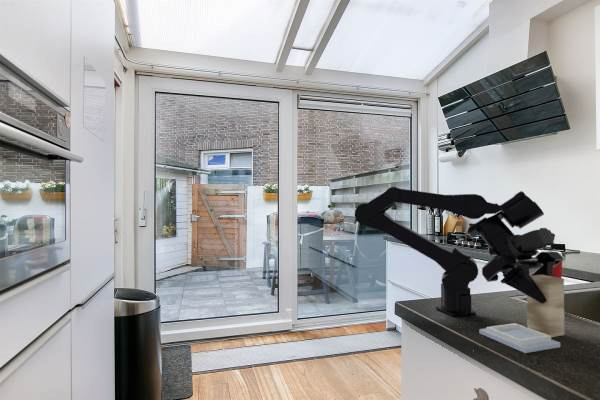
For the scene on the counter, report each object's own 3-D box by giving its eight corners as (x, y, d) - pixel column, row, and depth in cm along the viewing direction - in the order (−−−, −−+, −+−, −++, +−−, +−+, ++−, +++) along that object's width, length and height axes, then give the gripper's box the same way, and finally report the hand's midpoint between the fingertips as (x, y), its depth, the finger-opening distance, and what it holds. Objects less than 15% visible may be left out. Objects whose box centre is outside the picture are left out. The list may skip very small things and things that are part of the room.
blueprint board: (479, 333, 70) (479, 325, 70) (511, 328, 73) (511, 320, 73) (525, 353, 61) (524, 343, 61) (560, 347, 63) (560, 338, 63)
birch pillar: (527, 330, 72) (526, 276, 72) (541, 327, 73) (541, 274, 73) (549, 337, 68) (549, 280, 68) (564, 334, 69) (563, 278, 69)
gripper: (493, 215, 71) (551, 281, 60) (553, 214, 78) (614, 273, 68) (462, 250, 78) (509, 314, 68) (519, 246, 85) (570, 304, 75)
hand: (552, 300), depth 69 cm, fingers closed on birch pillar, 4 cm apart
